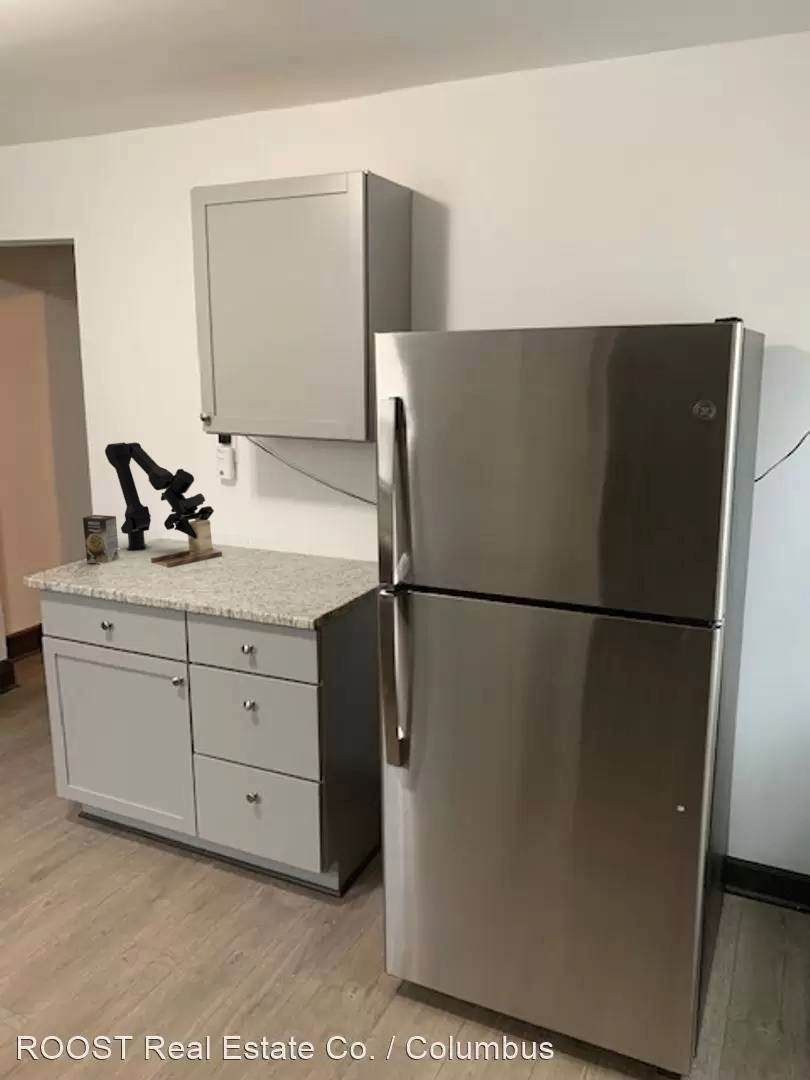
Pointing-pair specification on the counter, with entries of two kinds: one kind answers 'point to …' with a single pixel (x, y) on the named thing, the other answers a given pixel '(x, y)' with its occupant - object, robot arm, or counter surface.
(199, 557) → the bay
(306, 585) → the counter surface
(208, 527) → the stack of paper
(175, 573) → the counter surface
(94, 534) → the coffee box
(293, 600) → the counter surface
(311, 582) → the counter surface
